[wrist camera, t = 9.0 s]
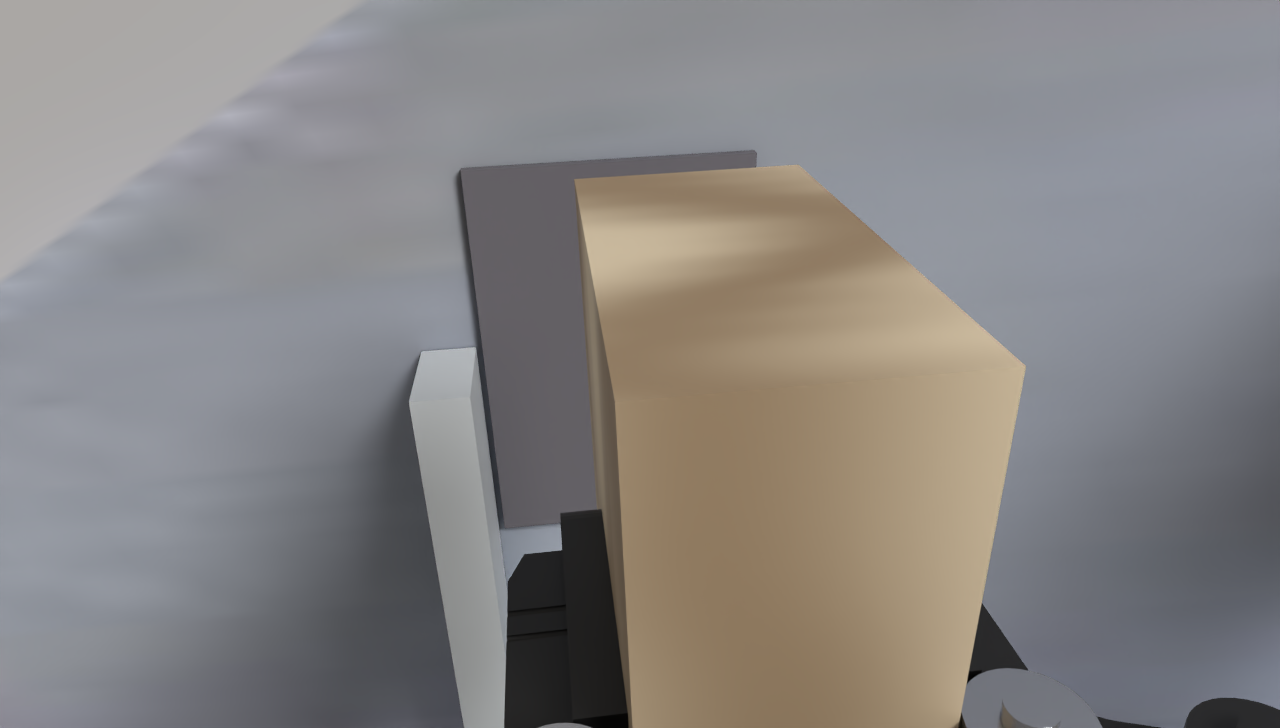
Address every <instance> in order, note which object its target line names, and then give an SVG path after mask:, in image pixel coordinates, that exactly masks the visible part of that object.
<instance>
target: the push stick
mask: <svg viewBox="0 0 1280 728" xmlns="http://www.w3.org/2000/svg"><path fill="white" fill-rule="evenodd" d="M574 184H575V199H576V213H577V227H578V242H579V256H580V271H581V285H582V300H583V314H584V328H585V343H586V357H587V372H588V386H589V401H590V415H591V429H592V444H593V458H594V473H595V487H596V502H597V509H602V516H603V524H604V531H605V539H606V547H607V555H608V563H609V570H610V578H611V586H612V594H613V601H614V609H615V617H616V625H617V633H618V640H619V648H620V656H621V664H622V672H623V679H624V687H625V695H626V703H627V711H628V725H629V728H958V727H959V721H960V716H961V711H962V705H963V700H964V695H965V689H966V684H967V678H968V673H969V668H970V662H971V657H972V652H973V646H974V641H975V636H976V630H977V625H978V620H979V614H980V609H981V604H982V598H983V593H984V588H985V582H986V577H987V572H988V566H989V561H990V556H991V550H992V545H993V540H994V534H995V529H996V524H997V518H998V513H999V508H1000V502H1001V497H1002V492H1003V486H1004V481H1005V476H1006V470H1007V465H1008V460H1009V454H1010V449H1011V444H1012V438H1013V433H1014V428H1015V422H1016V417H1017V412H1018V406H1019V401H1020V396H1021V390H1022V385H1023V379H1024V374H1025V369H1026V366H1025V365H1024V364H1023V363H1022V362H1020V361H1019V360H1018V359H1017V358H1016V357H1015V356H1014V355H1013V354H1011V353H1010V352H1009V351H1008V350H1007V349H1006V348H1005V347H1004V346H1002V345H1001V344H1000V343H999V342H998V341H997V340H996V339H994V338H993V337H992V336H991V335H990V334H989V333H988V332H987V331H985V330H984V329H983V328H982V327H981V326H980V325H979V324H978V323H976V322H975V321H974V320H973V319H972V318H971V317H970V316H969V315H967V314H966V313H965V312H964V311H963V310H962V309H961V308H959V307H958V306H957V305H956V304H955V303H954V302H953V301H952V300H950V299H949V298H948V297H947V296H946V295H945V294H944V293H943V292H941V291H940V290H939V289H938V288H937V287H936V286H935V285H933V284H932V283H931V282H930V281H929V280H928V279H927V278H926V277H924V276H923V275H922V274H921V273H920V272H919V271H918V270H917V269H915V268H914V267H913V266H912V265H911V264H910V263H909V262H908V261H906V260H905V259H904V258H903V257H902V256H901V255H900V254H898V253H897V252H896V251H895V250H894V249H893V248H892V247H891V246H889V245H888V244H887V243H886V242H885V241H884V240H883V239H882V238H880V237H879V236H878V235H877V234H876V233H875V232H874V231H872V230H871V229H870V228H869V227H868V226H867V225H866V224H865V223H863V222H862V221H861V220H860V219H859V218H858V217H857V216H856V215H854V214H853V213H852V212H851V211H850V210H849V209H848V208H847V207H845V206H844V205H843V204H842V203H841V202H840V201H839V200H837V199H836V198H835V197H834V196H833V195H832V194H831V193H830V192H828V191H827V190H826V189H825V188H824V187H823V186H822V185H821V184H819V183H818V182H817V181H816V180H815V179H814V178H813V177H811V176H810V175H809V174H808V173H807V172H806V171H805V170H804V169H802V168H801V167H800V166H799V165H788V166H772V167H756V168H741V169H725V170H709V171H694V172H678V173H662V174H647V175H631V176H615V177H600V178H584V179H574Z"/></svg>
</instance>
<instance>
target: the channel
mask: <svg viewBox="0 0 1280 728" xmlns="http://www.w3.org/2000/svg"><path fill="white" fill-rule="evenodd" d="M756 158H757V153H756V152H755V151H754V150H751V151H735V152H718V153H702V154H685V155H669V156H653V157H636V158H620V159H603V160H587V161H570V162H554V163H538V164H521V165H505V166H488V167H472V168H461V171H460V172H461V180H462V188H463V196H464V204H465V212H466V220H467V228H468V236H469V244H470V252H471V260H472V268H473V276H474V284H475V292H476V300H477V308H478V316H479V325H480V333H481V341H482V349H483V357H484V365H485V373H486V381H487V389H488V397H489V405H490V413H491V421H492V429H493V437H494V445H495V453H496V461H497V469H498V477H499V485H500V493H501V501H502V509H503V517H504V526H505V528H514V527H524V526H534V525H544V524H554V523H561V518H560V513H566V512H576V511H586V510H595V509H597V502H596V487H595V473H594V458H593V444H592V429H591V415H590V401H589V386H588V372H587V357H586V343H585V328H584V314H583V300H582V285H581V271H580V256H579V242H578V227H577V213H576V199H575V184H574V179H584V178H600V177H615V176H631V175H647V174H662V173H678V172H694V171H709V170H725V169H741V168H756ZM409 407H410V413H411V419H412V424H413V430H414V436H415V442H416V448H417V454H418V460H419V466H420V471H421V477H422V483H423V489H424V495H425V501H426V507H427V513H428V519H429V524H430V530H431V536H432V542H433V548H434V554H435V560H436V566H437V571H438V577H439V583H440V589H441V595H442V601H443V607H444V613H445V618H446V624H447V630H448V636H449V642H450V648H451V654H452V660H453V665H454V671H455V677H456V683H457V689H458V695H459V701H460V707H461V712H462V718H463V724H464V728H504V710H505V673H506V642H507V617H508V615H507V599H508V593H507V586H506V578H505V570H504V562H503V554H502V546H501V539H500V531H499V523H498V515H497V507H496V499H495V492H494V484H493V476H492V468H491V460H490V453H489V445H488V437H487V429H486V421H485V413H484V406H483V398H482V390H481V382H480V374H479V367H478V359H477V351H476V347H472V348H459V349H446V350H434V351H421V355H420V359H419V363H418V367H417V371H416V375H415V379H414V383H413V387H412V391H411V395H410V399H409Z"/></svg>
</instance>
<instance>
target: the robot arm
mask: <svg viewBox="0 0 1280 728" xmlns="http://www.w3.org/2000/svg"><path fill="white" fill-rule="evenodd" d="M560 518H561V535H562V550H561V551H552V552H543V553H533V554H524V556H523V558H522V559H521V561H520V563H519V564H518V566H517V567H516V569H515V571H514V572H513V574H512V576H511V577H510V579H509V581H508V599H507V615H508V617H507V642H506V673H505V710H504V728H629V725H628V711H627V703H626V695H625V687H624V679H623V672H622V664H621V656H620V648H619V640H618V633H617V625H616V617H615V609H614V601H613V594H612V586H611V578H610V570H609V563H608V555H607V547H606V539H605V531H604V524H603V516H602V509H595V510H586V511H576V512H566V513H560ZM958 728H1159V727H1152V726H1145V725H1138V724H1131V723H1124V722H1118V721H1113V720H1108V719H1104V718H1101V717H1097V716H1096V715H1095V714H1094V712H1093V710H1092V709H1091V708H1090V707H1089V705H1088V704H1087V703H1086V702H1085V701H1084V700H1083V699H1082V698H1081V697H1080V696H1079V695H1077V694H1076V693H1075V692H1074V691H1072V690H1071V689H1069V688H1068V687H1066V686H1065V685H1063V684H1061V683H1060V682H1058V681H1056V680H1054V679H1052V678H1049V677H1047V676H1045V675H1042V674H1039V673H1035V672H1032V671H1028V669H1027V668H1026V666H1025V665H1024V663H1023V662H1022V660H1021V659H1020V658H1019V656H1018V655H1017V653H1016V652H1015V650H1014V649H1013V647H1012V646H1011V645H1010V643H1009V642H1008V640H1007V639H1006V637H1005V636H1004V634H1003V633H1002V632H1001V630H1000V629H999V627H998V626H997V624H996V623H995V621H994V620H993V619H992V617H991V616H990V614H989V613H988V611H987V610H986V608H985V607H984V606H983V604H981V609H980V614H979V620H978V625H977V630H976V636H975V641H974V646H973V652H972V657H971V662H970V668H969V673H968V678H967V684H966V689H965V695H964V700H963V705H962V711H961V716H960V721H959V727H958ZM1184 728H1280V710H1278V709H1276V708H1273V707H1271V706H1268V705H1265V704H1262V703H1258V702H1254V701H1250V700H1245V699H1238V698H1217V699H1211V700H1208V701H1204V702H1202V703H1200V704H1199V705H1197V706H1195V707H1194V708H1193V709H1192V710H1191V712H1190V713H1189V715H1188V717H1187V720H1186V723H1185V726H1184Z"/></svg>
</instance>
